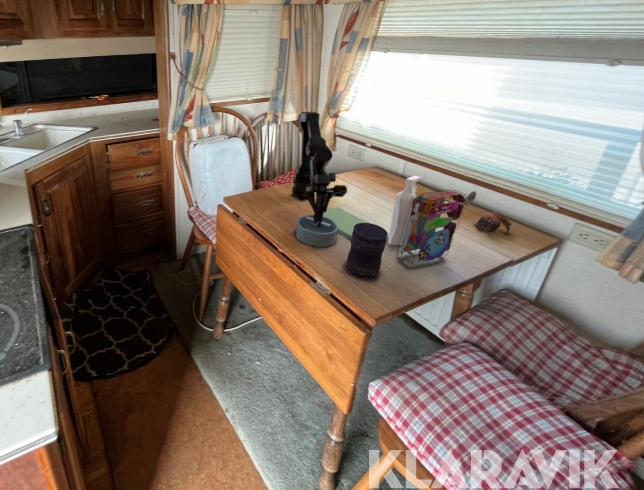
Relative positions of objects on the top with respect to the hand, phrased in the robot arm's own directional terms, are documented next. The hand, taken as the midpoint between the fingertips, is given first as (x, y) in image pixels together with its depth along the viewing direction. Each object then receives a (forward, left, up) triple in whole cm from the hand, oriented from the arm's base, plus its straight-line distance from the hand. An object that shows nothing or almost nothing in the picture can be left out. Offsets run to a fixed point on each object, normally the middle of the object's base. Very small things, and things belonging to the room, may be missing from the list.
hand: (320, 212), depth 129 cm
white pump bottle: (+16, +24, -11) cm, 31 cm away
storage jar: (+21, -1, -11) cm, 24 cm away
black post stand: (-1, +1, -6) cm, 6 cm away
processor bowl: (-1, +1, -11) cm, 11 cm away
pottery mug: (+29, +63, -11) cm, 70 cm away
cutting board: (-2, +18, -11) cm, 21 cm away
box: (+28, +25, -11) cm, 39 cm away
